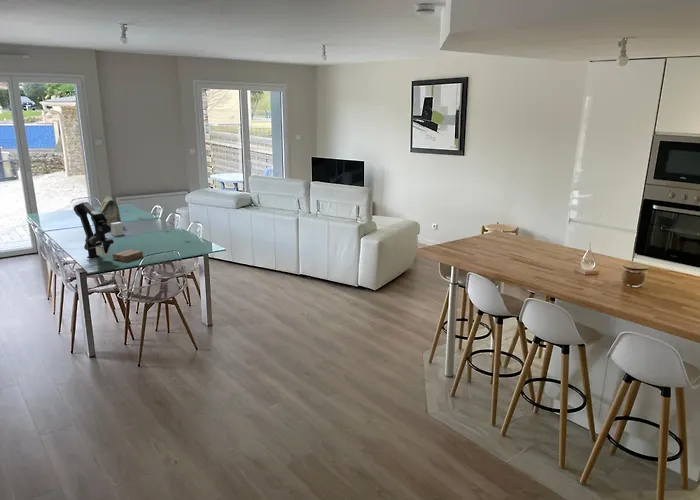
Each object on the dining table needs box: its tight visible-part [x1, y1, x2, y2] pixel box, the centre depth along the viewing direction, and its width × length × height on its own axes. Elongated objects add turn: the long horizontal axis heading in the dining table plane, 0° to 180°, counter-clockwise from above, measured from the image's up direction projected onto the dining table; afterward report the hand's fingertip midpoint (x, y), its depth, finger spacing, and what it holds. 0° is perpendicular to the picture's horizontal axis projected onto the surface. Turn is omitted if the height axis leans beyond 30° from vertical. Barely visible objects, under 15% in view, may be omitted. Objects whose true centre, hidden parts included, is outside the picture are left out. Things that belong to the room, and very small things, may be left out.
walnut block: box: [112, 248, 144, 263], centre depth 363 cm, size 14×14×4 cm
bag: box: [98, 195, 122, 230], centre depth 463 cm, size 22×16×27 cm
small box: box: [110, 221, 125, 237], centre depth 434 cm, size 8×6×10 cm
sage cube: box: [96, 244, 111, 257], centre depth 356 cm, size 6×6×6 cm
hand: (103, 252), depth 357 cm, fingers closed on sage cube, 6 cm apart
